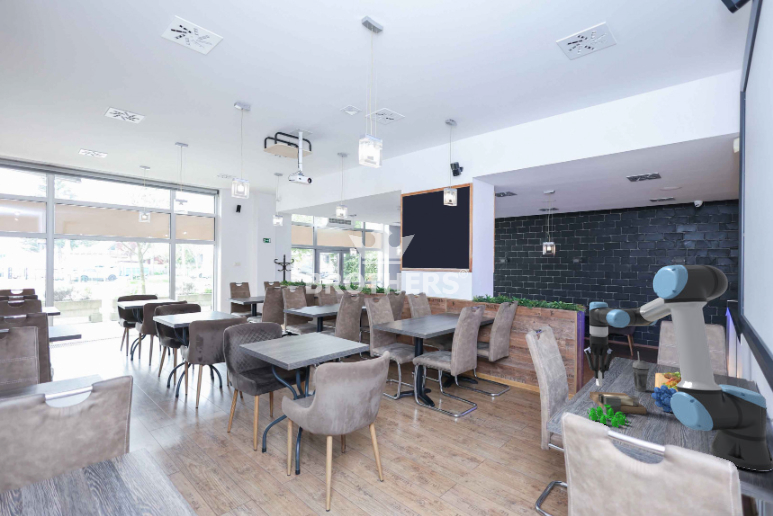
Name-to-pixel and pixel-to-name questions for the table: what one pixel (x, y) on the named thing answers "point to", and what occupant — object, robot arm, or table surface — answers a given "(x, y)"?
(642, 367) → the beverage cup
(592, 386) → the table surface
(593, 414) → the green knobby part
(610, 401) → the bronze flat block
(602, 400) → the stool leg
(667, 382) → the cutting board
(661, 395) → the grapes
